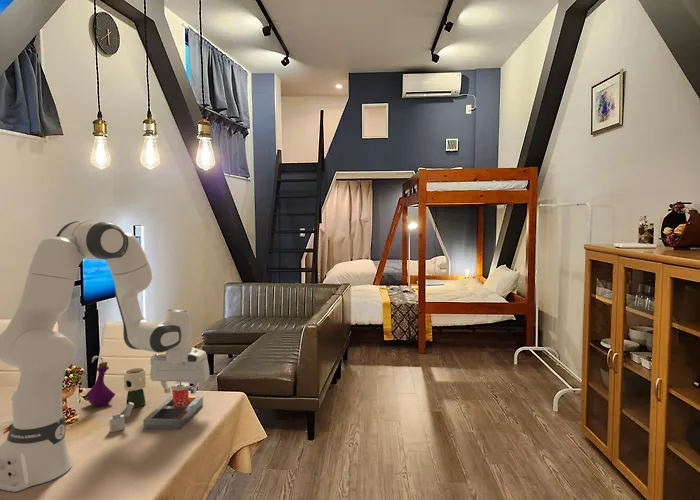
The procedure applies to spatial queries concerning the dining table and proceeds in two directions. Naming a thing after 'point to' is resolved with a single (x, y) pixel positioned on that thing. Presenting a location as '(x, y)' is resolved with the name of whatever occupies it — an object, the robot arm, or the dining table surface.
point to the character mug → (135, 385)
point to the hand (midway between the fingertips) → (180, 392)
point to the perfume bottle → (100, 387)
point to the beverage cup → (180, 393)
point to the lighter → (120, 419)
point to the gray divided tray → (172, 414)
